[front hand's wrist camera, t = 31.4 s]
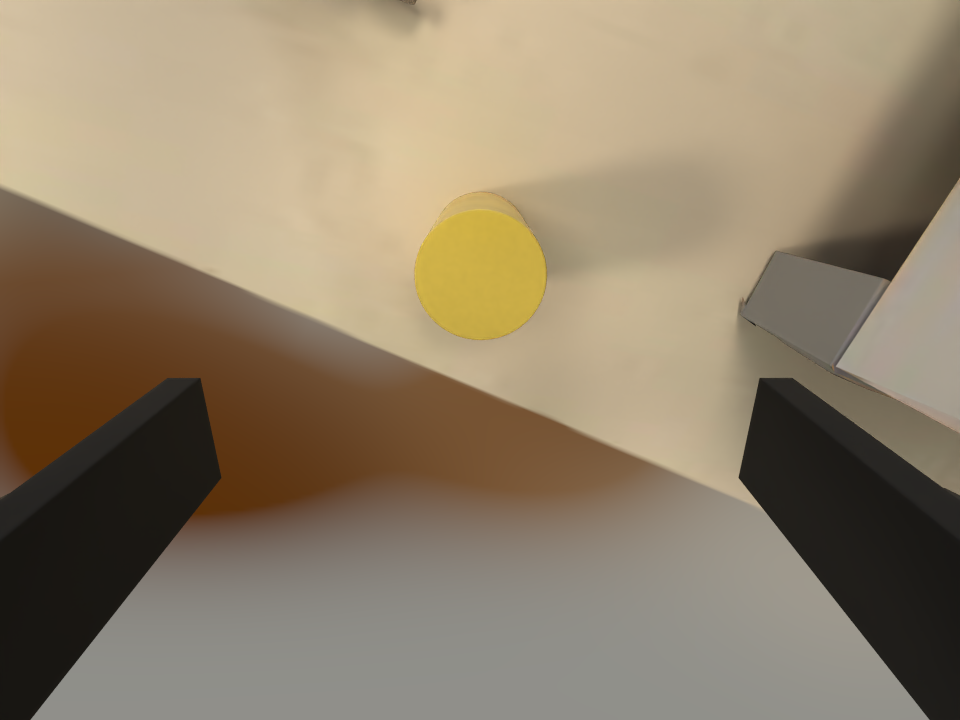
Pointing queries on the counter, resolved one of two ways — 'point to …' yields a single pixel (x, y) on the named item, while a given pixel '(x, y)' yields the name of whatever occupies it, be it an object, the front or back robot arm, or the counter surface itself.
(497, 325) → the cylinder
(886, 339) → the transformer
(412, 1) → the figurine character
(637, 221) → the counter surface
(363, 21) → the counter surface
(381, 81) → the counter surface
